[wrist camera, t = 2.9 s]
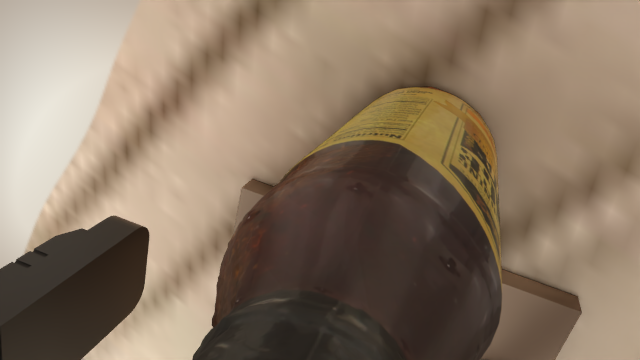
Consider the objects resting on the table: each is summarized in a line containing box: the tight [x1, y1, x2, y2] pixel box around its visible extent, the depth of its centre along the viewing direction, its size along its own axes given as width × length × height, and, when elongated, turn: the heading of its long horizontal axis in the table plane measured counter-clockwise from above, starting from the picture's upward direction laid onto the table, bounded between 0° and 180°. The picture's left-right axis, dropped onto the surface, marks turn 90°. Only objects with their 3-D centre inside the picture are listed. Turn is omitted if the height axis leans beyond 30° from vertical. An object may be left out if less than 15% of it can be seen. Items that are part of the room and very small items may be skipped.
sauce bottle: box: [193, 87, 502, 360], centre depth 14 cm, size 6×6×20 cm
